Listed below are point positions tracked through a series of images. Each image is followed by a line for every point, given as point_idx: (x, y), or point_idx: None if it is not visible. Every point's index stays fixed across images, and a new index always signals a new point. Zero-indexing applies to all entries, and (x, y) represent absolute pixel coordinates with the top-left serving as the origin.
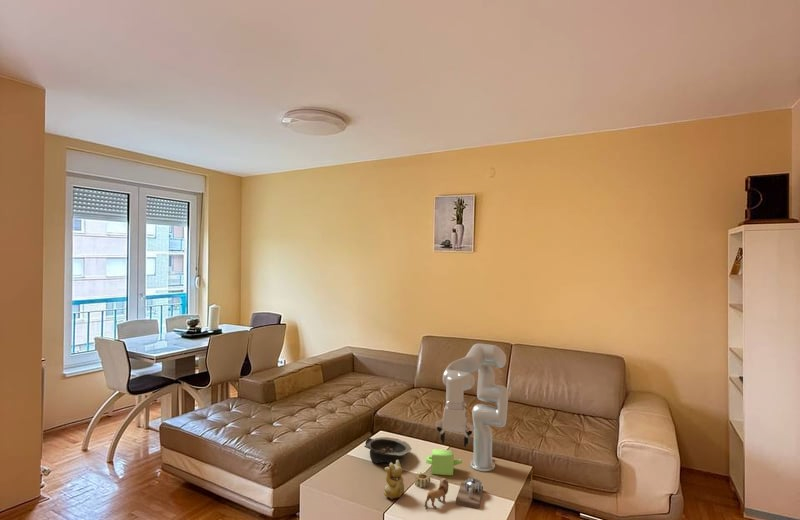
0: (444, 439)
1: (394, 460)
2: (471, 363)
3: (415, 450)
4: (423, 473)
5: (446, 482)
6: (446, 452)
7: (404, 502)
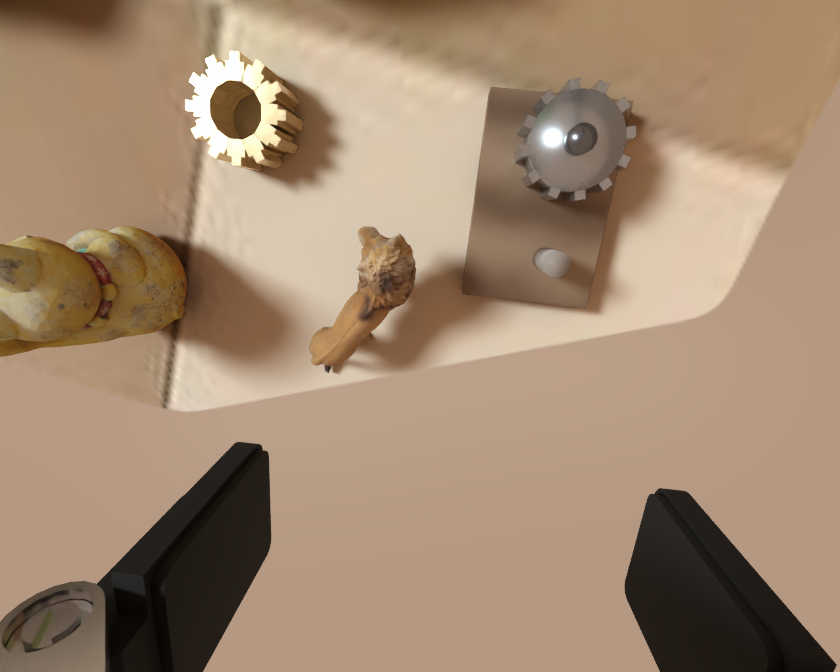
0: (252, 493)
1: None
2: None
3: None
4: (230, 67)
5: (400, 279)
6: None
7: (220, 324)
